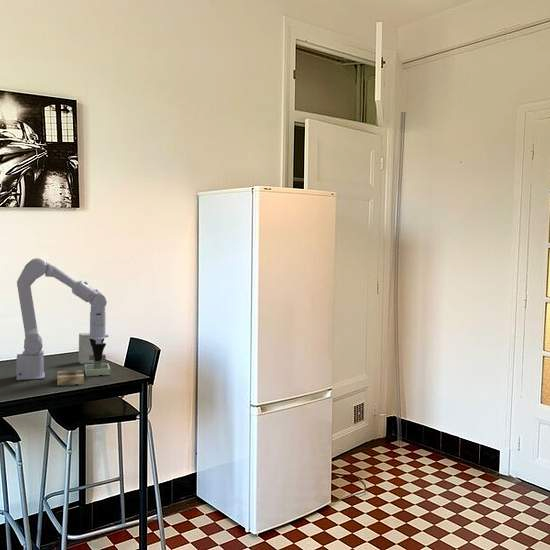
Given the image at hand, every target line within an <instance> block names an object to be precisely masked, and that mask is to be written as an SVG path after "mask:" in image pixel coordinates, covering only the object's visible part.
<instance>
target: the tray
mask: <svg viewBox="0 0 550 550" xmlns="http://www.w3.org/2000/svg"><path fill="white" fill-rule="evenodd" d="M84 374H85V375H86V376H85V375H84V376H85V377H97V376H98V377H99V375H103V376H111V367H110V365H109V363H101V369H94V363H85V364H84Z"/></svg>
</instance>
